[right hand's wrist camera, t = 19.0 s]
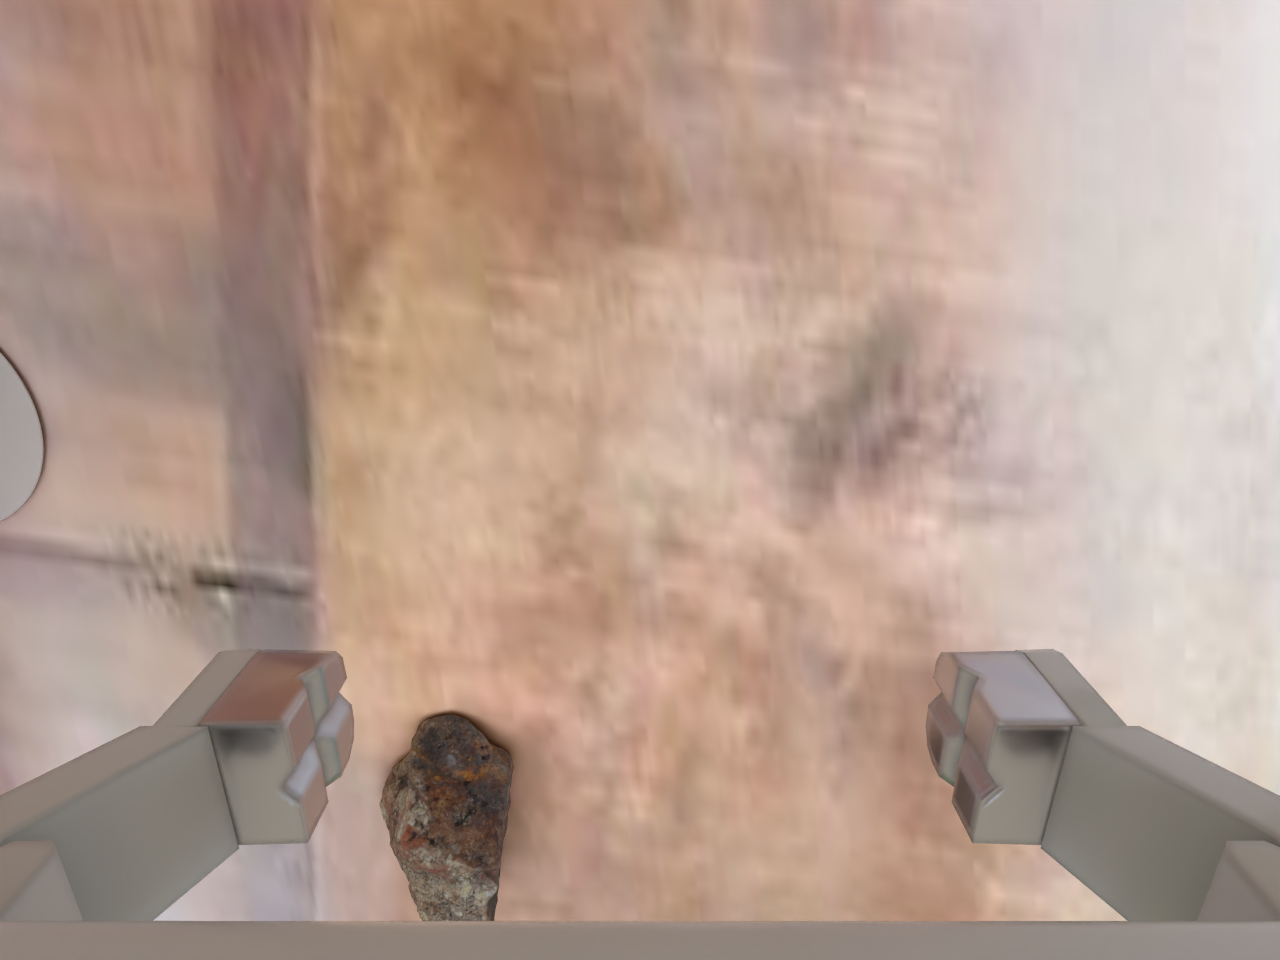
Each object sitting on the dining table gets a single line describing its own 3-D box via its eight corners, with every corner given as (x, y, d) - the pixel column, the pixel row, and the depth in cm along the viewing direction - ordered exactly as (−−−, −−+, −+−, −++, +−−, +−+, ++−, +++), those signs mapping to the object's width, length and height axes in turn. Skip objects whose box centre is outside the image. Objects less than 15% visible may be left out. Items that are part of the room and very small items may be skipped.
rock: (553, 730, 53) (412, 693, 52) (541, 820, 45) (372, 778, 43) (499, 889, 57) (366, 858, 56) (478, 998, 49) (322, 964, 47)
